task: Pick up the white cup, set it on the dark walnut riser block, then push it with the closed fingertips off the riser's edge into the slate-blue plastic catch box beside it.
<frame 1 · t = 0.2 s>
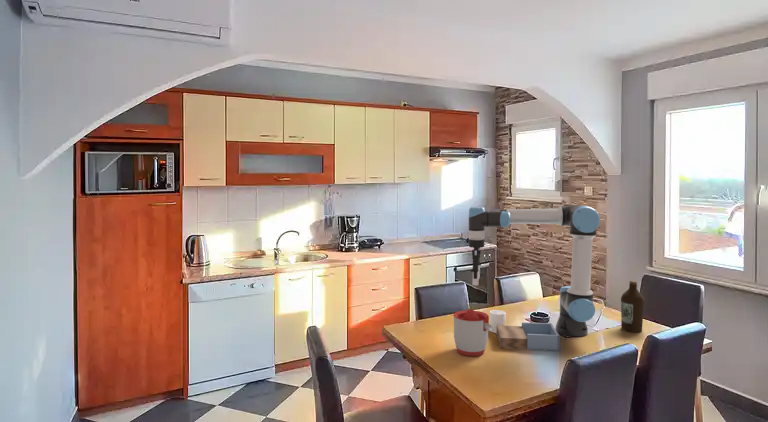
hand: (476, 282, 231), 27 cm above the table, fingers open, 13 cm apart
citrus juicer: (472, 352, 213), on the table
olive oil: (631, 329, 242), on the table
white cup: (497, 331, 241), on the table
catch box: (539, 343, 223), on the table
walnut riser: (511, 342, 225), on the table
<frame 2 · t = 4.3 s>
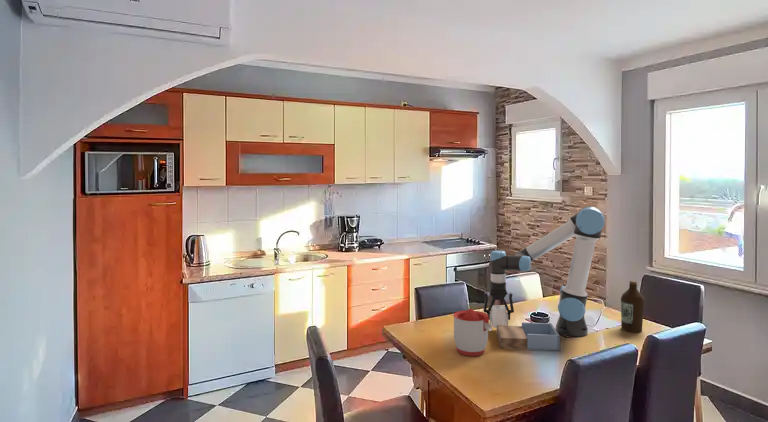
hand: (498, 325, 240), 3 cm above the table, fingers closed on white cup, 7 cm apart
white cup: (498, 326, 240), point 2 cm above the table, touching gripper
everything else where it was.
when the fingers open (6 cm above the table, at t = 8.8 s): white cup moves 1 cm, resting on walnut riser.
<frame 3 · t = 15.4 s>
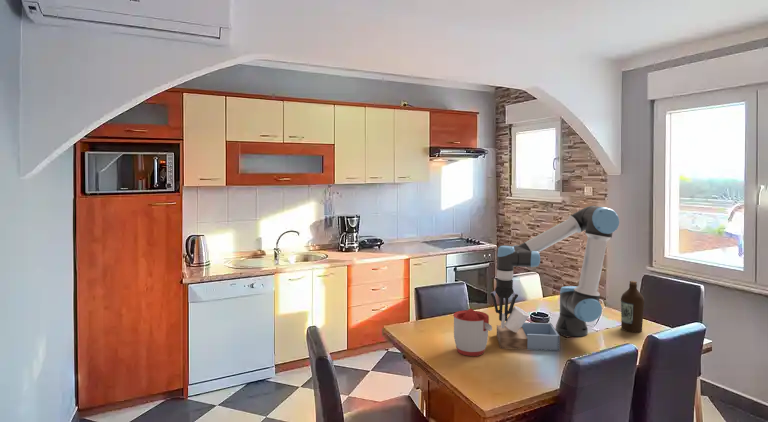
hand: (502, 327, 225), 7 cm above the table, fingers closed
white cup: (510, 328, 225), point 6 cm above the table, touching gripper, walnut riser
everything else where it was.
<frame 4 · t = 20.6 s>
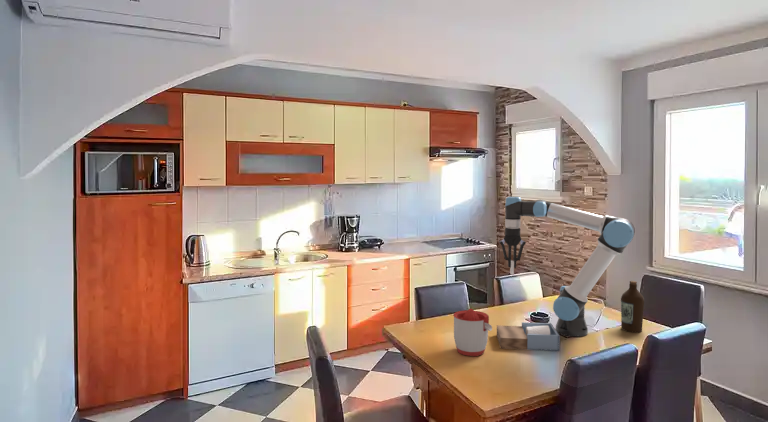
hand: (512, 273, 239), 29 cm above the table, fingers closed
white cup: (526, 334, 224), point 4 cm above the table, touching catch box
everything else where it was.
at the end: white cup inside the target area (5.5 cm from its centre), point 4.1 cm above the table; the gripper is holding nothing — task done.
